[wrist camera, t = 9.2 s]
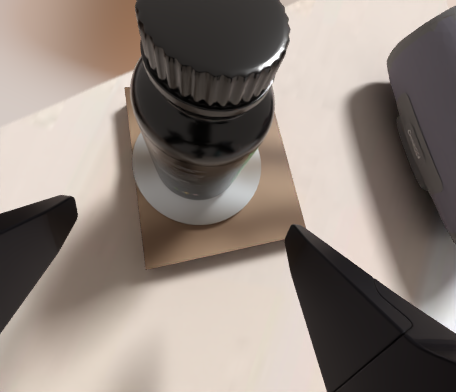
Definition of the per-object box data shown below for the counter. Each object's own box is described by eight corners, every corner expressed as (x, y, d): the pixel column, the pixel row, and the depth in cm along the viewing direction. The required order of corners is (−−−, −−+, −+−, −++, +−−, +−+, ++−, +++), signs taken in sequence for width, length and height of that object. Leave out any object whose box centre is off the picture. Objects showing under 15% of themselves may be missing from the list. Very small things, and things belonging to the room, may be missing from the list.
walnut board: (296, 235, 21) (311, 233, 18) (150, 267, 17) (144, 270, 15) (260, 96, 24) (268, 79, 21) (130, 102, 21) (122, 82, 18)
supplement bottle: (249, 183, 18) (357, 76, 7) (175, 215, 16) (150, 143, 5) (216, 117, 19) (262, -75, 8) (143, 141, 17) (56, -68, 6)
